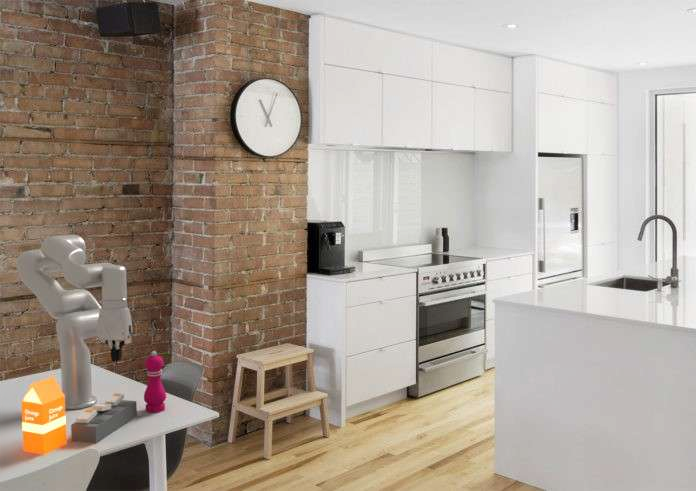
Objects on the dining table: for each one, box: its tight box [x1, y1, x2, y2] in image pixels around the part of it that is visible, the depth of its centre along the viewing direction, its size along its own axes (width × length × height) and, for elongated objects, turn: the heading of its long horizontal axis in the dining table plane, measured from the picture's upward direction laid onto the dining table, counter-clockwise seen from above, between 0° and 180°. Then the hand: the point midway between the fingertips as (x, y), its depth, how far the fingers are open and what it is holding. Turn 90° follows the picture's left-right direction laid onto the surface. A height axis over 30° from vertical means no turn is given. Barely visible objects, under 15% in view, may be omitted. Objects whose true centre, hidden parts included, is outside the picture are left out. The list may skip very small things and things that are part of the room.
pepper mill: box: [143, 350, 167, 414], centre depth 235 cm, size 7×7×20 cm
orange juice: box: [20, 375, 67, 456], centre depth 203 cm, size 8×9×20 cm
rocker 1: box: [75, 408, 97, 423], centre depth 211 cm, size 4×5×2 cm
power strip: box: [70, 399, 138, 444], centre depth 222 cm, size 8×30×6 cm, turn 168°
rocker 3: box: [104, 392, 125, 406], centre depth 226 cm, size 4×5×2 cm
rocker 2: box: [91, 403, 111, 411], centre depth 219 cm, size 4×5×2 cm
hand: (116, 360), depth 227 cm, fingers closed
